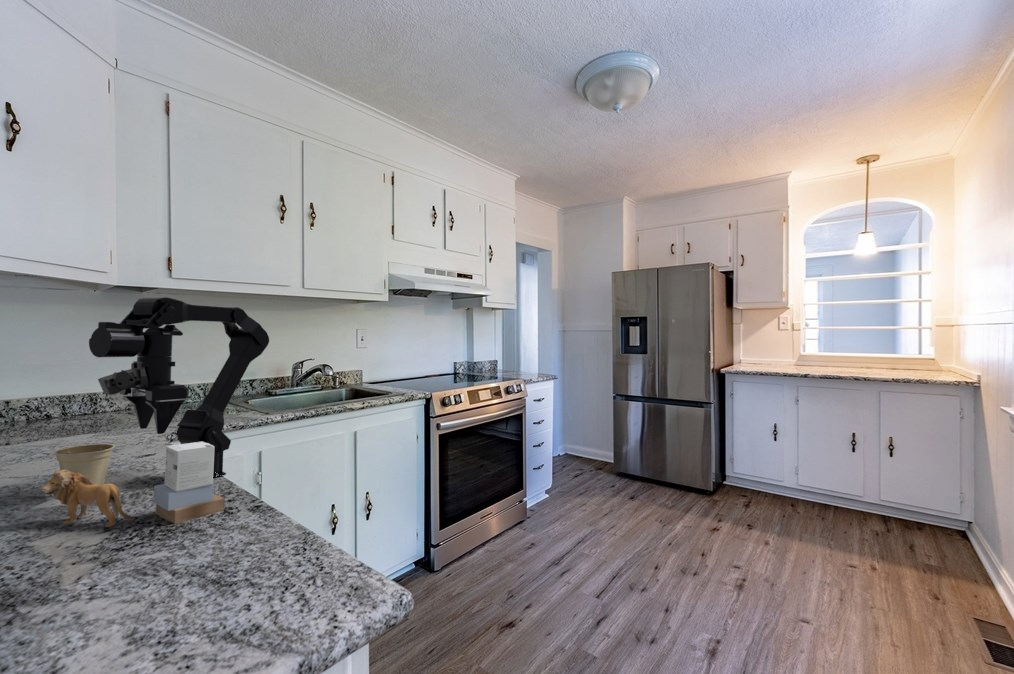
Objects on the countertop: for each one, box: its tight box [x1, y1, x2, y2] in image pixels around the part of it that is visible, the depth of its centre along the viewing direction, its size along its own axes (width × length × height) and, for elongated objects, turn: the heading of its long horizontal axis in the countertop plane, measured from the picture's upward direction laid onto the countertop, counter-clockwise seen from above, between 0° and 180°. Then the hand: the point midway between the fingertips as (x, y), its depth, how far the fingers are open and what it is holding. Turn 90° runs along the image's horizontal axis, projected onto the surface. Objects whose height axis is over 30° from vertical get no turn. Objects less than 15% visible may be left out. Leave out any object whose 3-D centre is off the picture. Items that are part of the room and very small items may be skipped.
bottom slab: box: [155, 493, 225, 525], centre depth 82 cm, size 8×8×3 cm
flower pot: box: [53, 443, 116, 485], centre depth 94 cm, size 9×9×9 cm
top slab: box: [153, 483, 214, 511], centre depth 82 cm, size 7×7×3 cm
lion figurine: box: [40, 470, 135, 528], centre depth 77 cm, size 15×5×9 cm, turn 91°
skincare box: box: [164, 442, 215, 492], centre depth 82 cm, size 6×6×7 cm
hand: (151, 431), depth 92 cm, fingers open, 9 cm apart
